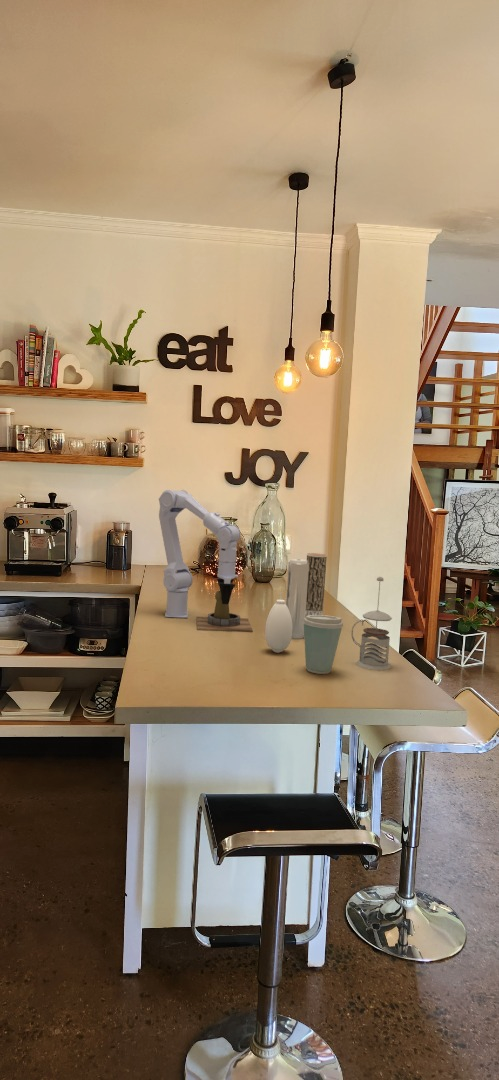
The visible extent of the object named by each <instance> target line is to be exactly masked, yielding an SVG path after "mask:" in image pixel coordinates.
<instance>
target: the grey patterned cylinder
mask: <svg viewBox="0 0 499 1080" xmlns="http://www.w3.org/2000/svg"><path fill="white" fill-rule="evenodd" d="M327 558H328V556H327V554H325V553H318V552H317V553H316V552H315V553H314V552H309V553H308V552H307V554H306V560H307V563H309V571H308V586H307V601H306V615H305V617H306V616H308V615H324V613H323V612H324V603H325V602H324V601H325V588H326V587H325V585H326V574H327V573H326V572H327Z"/></svg>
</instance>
